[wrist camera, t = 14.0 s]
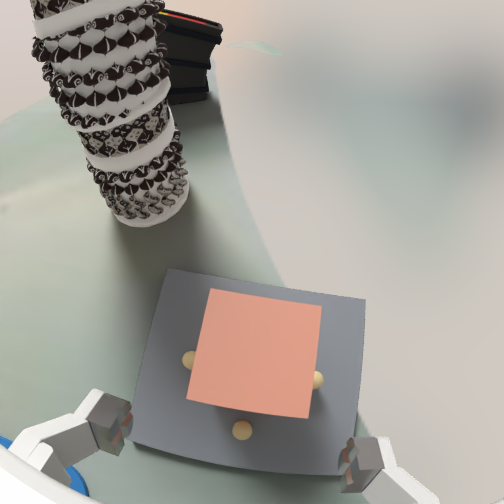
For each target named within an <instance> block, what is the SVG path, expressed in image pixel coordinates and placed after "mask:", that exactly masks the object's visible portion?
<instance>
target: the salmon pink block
mask: <svg viewBox="0 0 504 504" xmlns="http://www.w3.org/2000/svg"><path fill="white" fill-rule="evenodd" d="M321 309H322V306H318V305H311V304H304V303H297V302H291V301H284V300H278V299H271V298H265V297H259V296H253V295H247V294H241V293H235V292H230V291H224V290H218V289H213V288H210V293H209V297H208V301H207V306H206V310H205V314H204V319H203V323H202V327H201V332H200V336H199V341H198V345H197V350H196V354H195V359H194V364H193V368H192V373H191V378H190V382H189V387H188V392H187V397H186V399H189V400H193V401H198V402H202V403H207V404H212V405H217V406H222V407H227V408H232V409H238V410H244V411H250V412H256V413H263V414H271V415H279V416H287V417H297V418H308V415H309V409H310V402H311V396H312V389H313V381H314V374H315V366H316V358H317V349H318V340H319V330H320V320H321Z"/></svg>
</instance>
